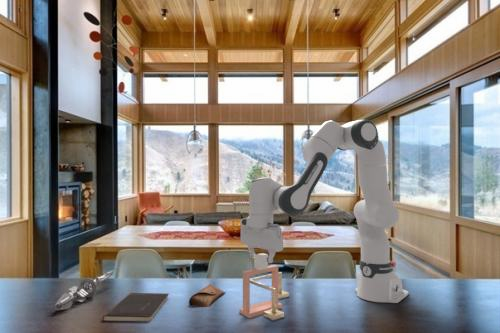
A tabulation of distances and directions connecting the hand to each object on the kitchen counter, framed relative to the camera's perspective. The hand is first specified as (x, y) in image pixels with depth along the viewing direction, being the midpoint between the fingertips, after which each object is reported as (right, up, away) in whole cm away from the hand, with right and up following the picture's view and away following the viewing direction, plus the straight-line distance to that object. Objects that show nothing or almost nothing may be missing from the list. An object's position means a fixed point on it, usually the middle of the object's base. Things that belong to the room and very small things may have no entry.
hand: (261, 260), depth 127 cm
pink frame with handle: (0, -18, -1) cm, 18 cm away
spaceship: (-68, -18, +13) cm, 72 cm away
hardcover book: (-45, -19, +1) cm, 48 cm away
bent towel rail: (+6, -18, +4) cm, 20 cm away
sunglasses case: (-20, -19, +12) cm, 30 cm away
